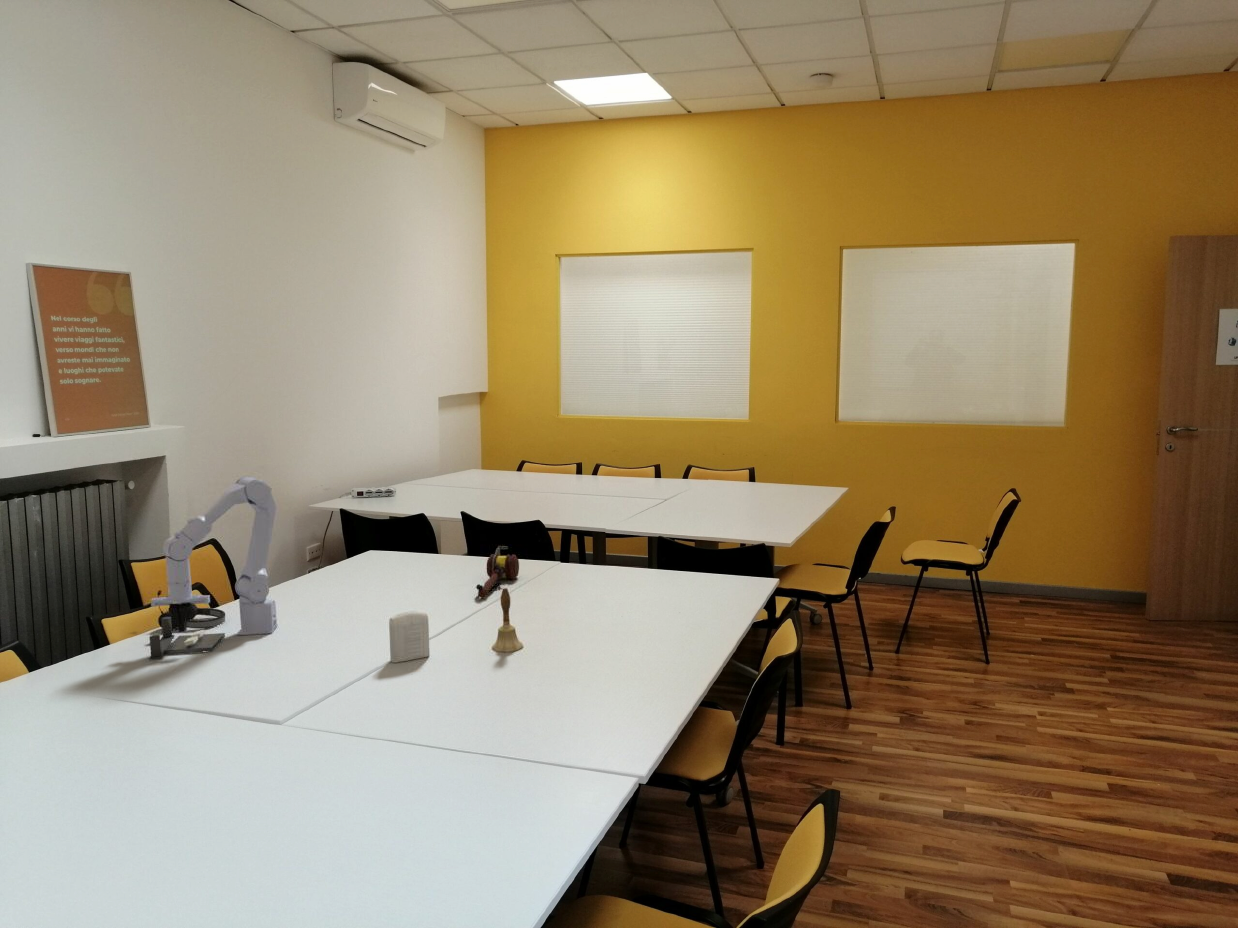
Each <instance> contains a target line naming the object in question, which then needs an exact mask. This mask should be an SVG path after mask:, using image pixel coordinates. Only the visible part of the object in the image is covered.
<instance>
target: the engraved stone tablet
mask: <svg viewBox="0 0 1238 928" xmlns="http://www.w3.org/2000/svg"><path fill="white" fill-rule="evenodd" d="M388 623H389V624H388V627H389V653H390V662H391V663H395V664H396V663H403V662H407V661H412V660H413V661H414V660H417V659H422V658H426V657H428V658H429V656H430V629H429V626H430V625H429V615H428V613H427V612H426V611H422V610H408V611H403V612H399V613H398V614H395V615H393V616H391V617H390V618H389V622H388Z"/></svg>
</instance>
